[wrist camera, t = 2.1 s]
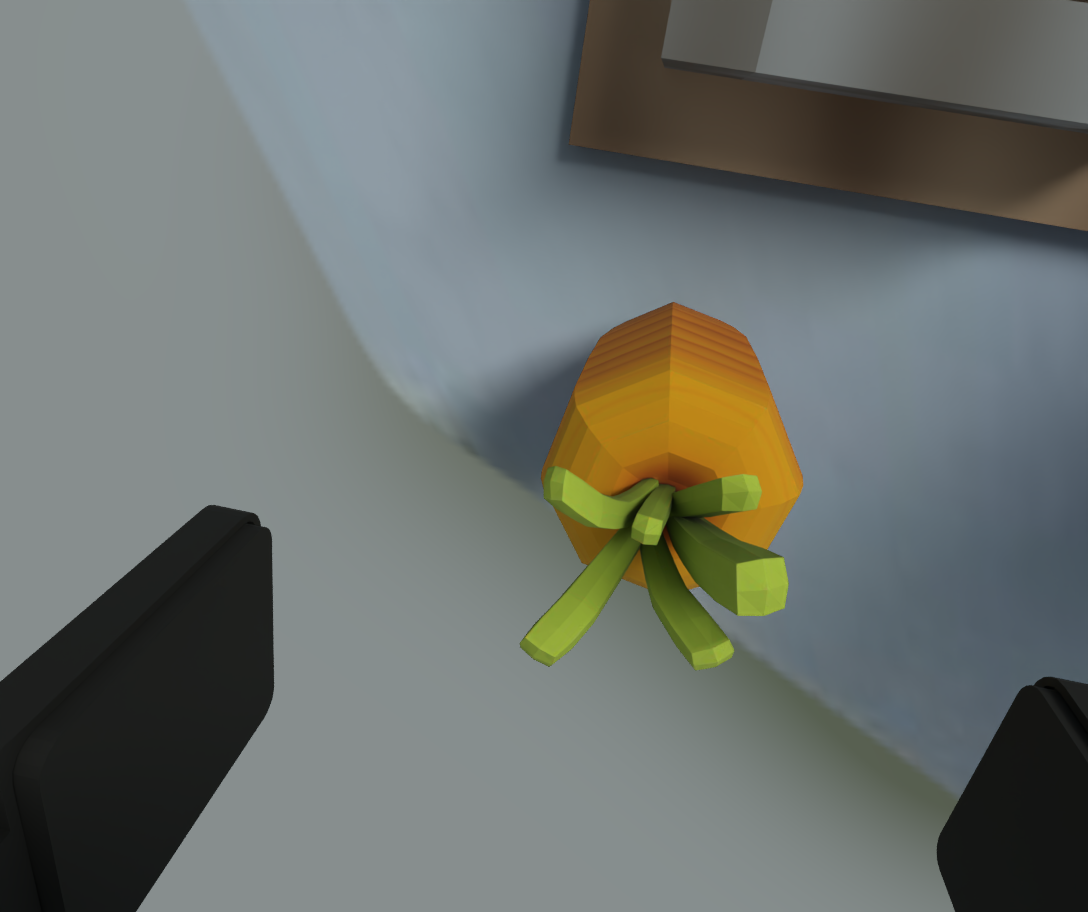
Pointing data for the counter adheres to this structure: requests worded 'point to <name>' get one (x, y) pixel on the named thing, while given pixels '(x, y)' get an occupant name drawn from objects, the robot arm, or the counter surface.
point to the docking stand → (852, 96)
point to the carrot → (670, 482)
